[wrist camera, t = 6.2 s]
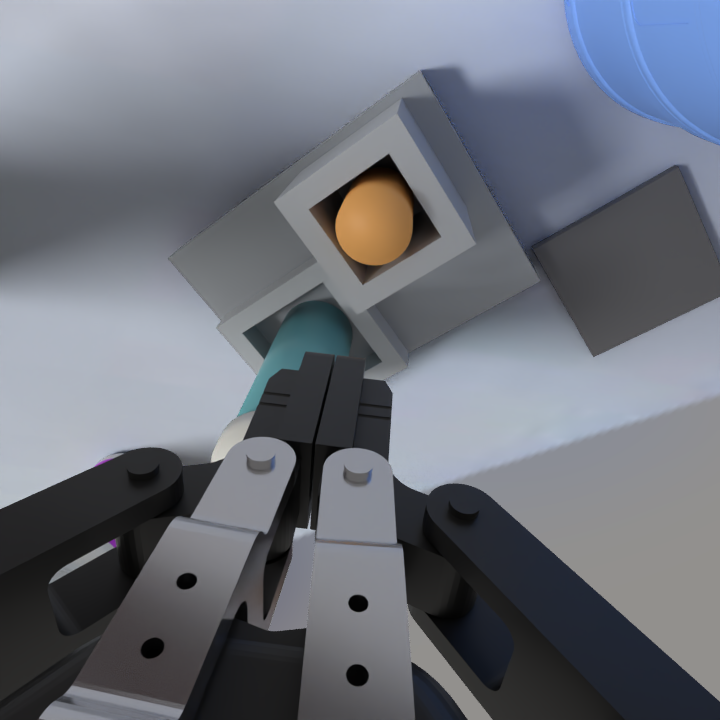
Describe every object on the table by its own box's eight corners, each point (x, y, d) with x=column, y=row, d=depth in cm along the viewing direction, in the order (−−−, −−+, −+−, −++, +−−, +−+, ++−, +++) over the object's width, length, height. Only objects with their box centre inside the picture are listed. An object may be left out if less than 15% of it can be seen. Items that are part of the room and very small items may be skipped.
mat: (531, 246, 36) (533, 250, 36) (674, 165, 33) (678, 167, 33) (591, 352, 40) (593, 357, 39) (726, 287, 37) (731, 291, 36)
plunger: (334, 191, 31) (319, 217, 27) (390, 153, 30) (384, 173, 25) (371, 246, 32) (363, 278, 28) (426, 211, 31) (427, 239, 27)
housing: (179, 248, 39) (118, 302, 31) (420, 70, 32) (420, 81, 24) (304, 397, 44) (278, 476, 36) (534, 269, 37) (565, 332, 29)
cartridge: (261, 322, 39) (186, 456, 26) (325, 281, 37) (277, 405, 24) (309, 380, 41) (260, 531, 28) (372, 345, 39) (350, 489, 26)
